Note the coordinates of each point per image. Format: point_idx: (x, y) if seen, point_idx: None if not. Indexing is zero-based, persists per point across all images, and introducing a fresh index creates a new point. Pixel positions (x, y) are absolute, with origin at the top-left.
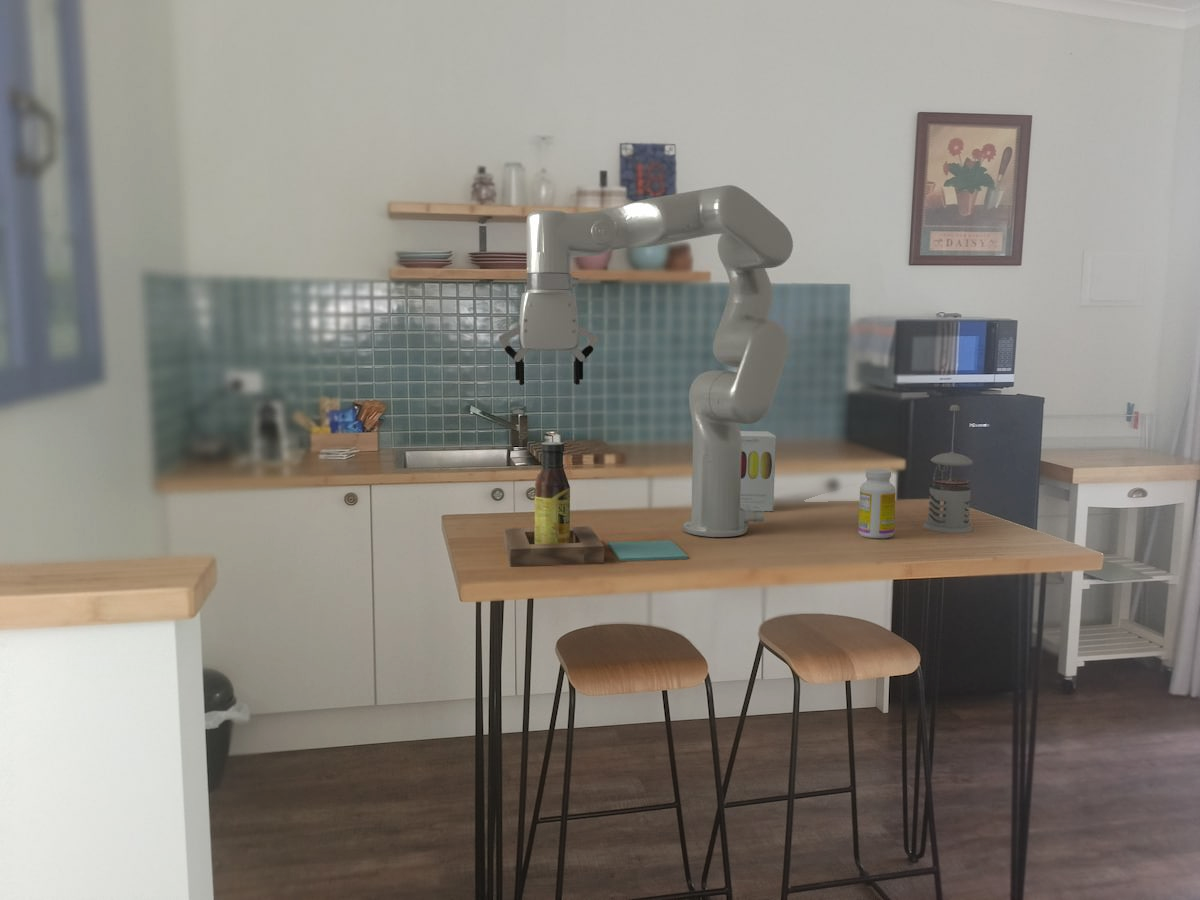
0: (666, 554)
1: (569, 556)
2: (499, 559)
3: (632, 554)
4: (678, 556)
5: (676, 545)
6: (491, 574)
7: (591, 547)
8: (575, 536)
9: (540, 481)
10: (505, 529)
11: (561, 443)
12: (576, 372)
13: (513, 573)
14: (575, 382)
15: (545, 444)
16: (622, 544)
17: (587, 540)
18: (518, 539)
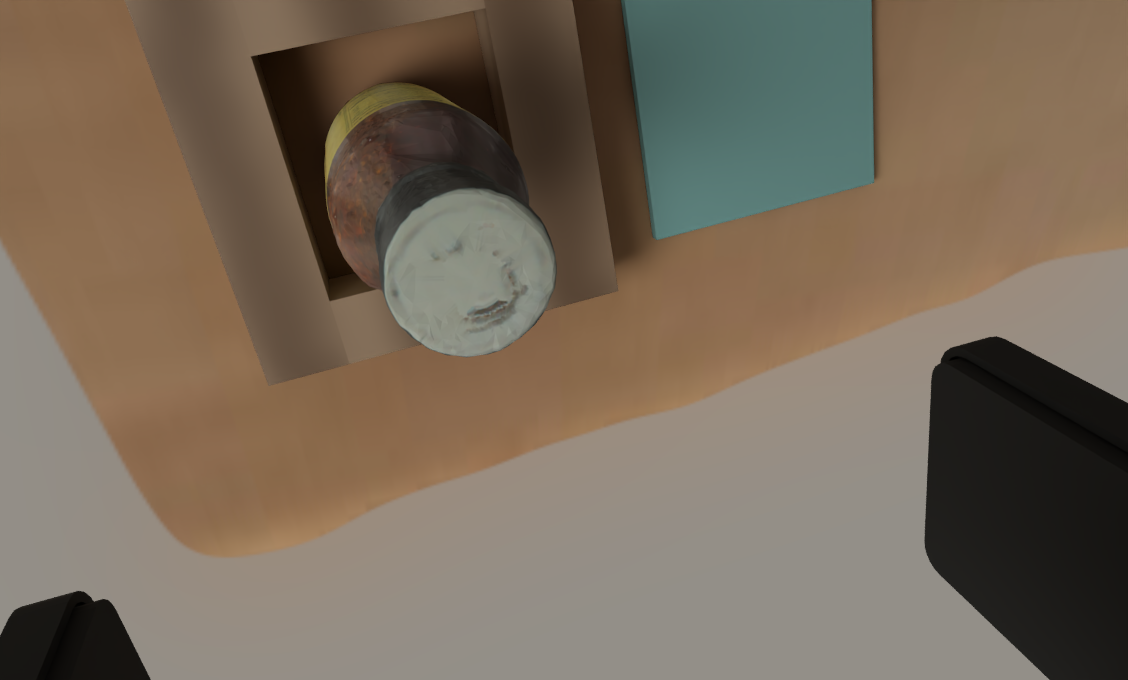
0: (813, 166)
1: None
2: (197, 261)
3: (701, 179)
4: (845, 189)
5: (871, 17)
6: (229, 460)
7: (572, 301)
8: (496, 74)
9: (374, 284)
10: (133, 8)
11: (542, 296)
12: (1056, 671)
13: (304, 436)
14: (937, 568)
15: (426, 345)
16: (676, 11)
17: (555, 207)
18: (260, 222)
